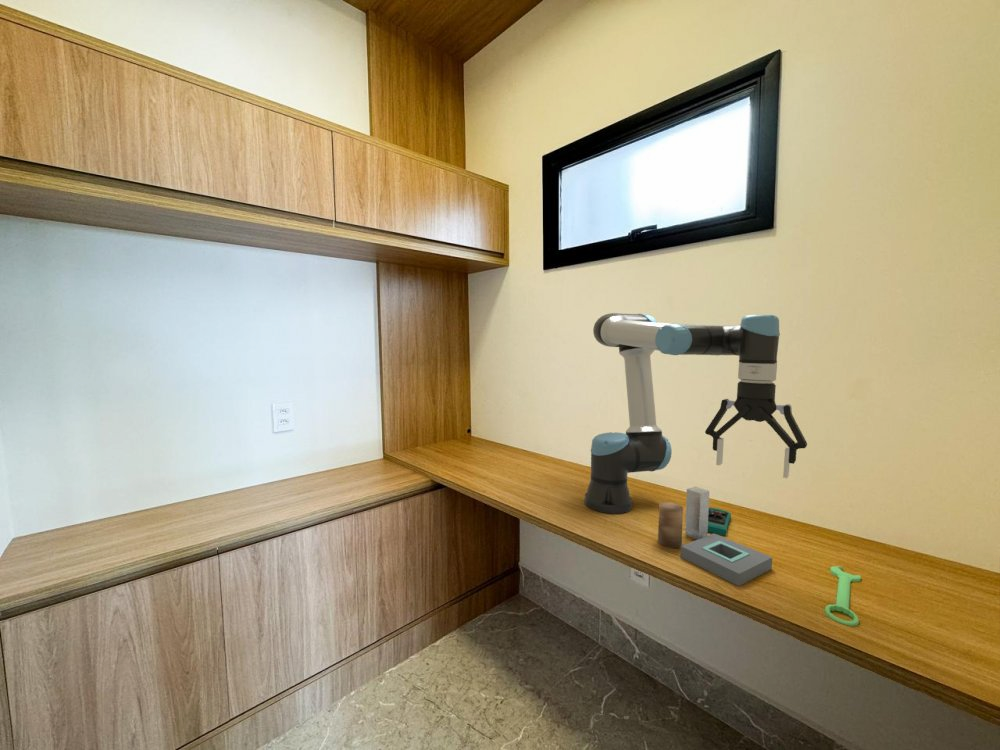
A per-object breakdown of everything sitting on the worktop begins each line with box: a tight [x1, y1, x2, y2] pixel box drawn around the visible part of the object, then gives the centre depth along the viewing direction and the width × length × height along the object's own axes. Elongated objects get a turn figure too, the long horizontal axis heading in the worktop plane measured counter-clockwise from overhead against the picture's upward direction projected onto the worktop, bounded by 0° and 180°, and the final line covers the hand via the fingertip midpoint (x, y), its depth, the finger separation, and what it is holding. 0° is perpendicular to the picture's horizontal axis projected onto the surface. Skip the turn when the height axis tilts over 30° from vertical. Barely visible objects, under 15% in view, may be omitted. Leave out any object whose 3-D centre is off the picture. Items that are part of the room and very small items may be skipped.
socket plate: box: [680, 533, 773, 587], centre depth 95 cm, size 14×14×3 cm
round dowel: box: [657, 501, 684, 549], centre depth 105 cm, size 6×6×10 cm
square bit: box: [684, 486, 710, 541], centre depth 109 cm, size 4×4×13 cm
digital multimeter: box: [708, 506, 732, 537], centre depth 117 cm, size 7×15×3 cm, turn 145°
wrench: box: [824, 565, 862, 627], centre depth 83 cm, size 25×2×5 cm
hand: (751, 470), depth 94 cm, fingers open, 13 cm apart
